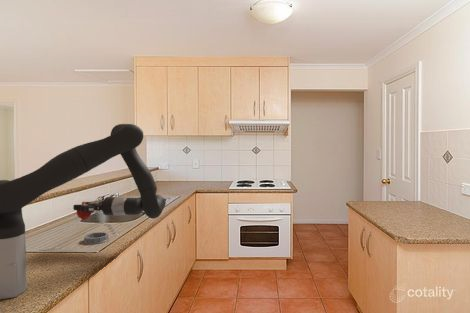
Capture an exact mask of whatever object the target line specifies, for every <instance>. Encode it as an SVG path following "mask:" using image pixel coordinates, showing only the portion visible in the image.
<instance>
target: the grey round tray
mask: <svg viewBox="0 0 470 313" xmlns="http://www.w3.org/2000/svg"><path fill="white" fill-rule="evenodd" d="M109 240H110V237H109V232H106V231H97V232H96V231H95V232H91V233H87V234H86V235H84V236H83V243H84V244H86V245H98V244H105V243H106V241H107V242H108V241H109Z"/></svg>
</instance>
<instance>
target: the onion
mask: <svg viewBox="0 0 470 313" xmlns="http://www.w3.org/2000/svg"><path fill="white" fill-rule="evenodd" d="M85 202H86V201H82V202H81V204H80V205H83V204H86V203H85ZM76 215H77V217H78V218H79V219H81V220H82V221H86V220H87V219H88V218H90V217H91V215H92V212H81V210H76Z"/></svg>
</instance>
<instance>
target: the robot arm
mask: <svg viewBox="0 0 470 313" xmlns="http://www.w3.org/2000/svg"><path fill="white" fill-rule="evenodd" d="M143 140H144V131H143V130H142V128H141V127H140V126H138V125H136V124H133V123H120V124H119V123H118V124H116V125H114V126H113V128H112V129H111V131H110V135H109V136H106V137H104V138H102V139H101V138H100V139H98V140H94V141H89V142H86V143H83V144H80V145H76V146H74V147H71V148H70V149H67V150H65V151H64V152H61V153H59V154H57V155H56V156H53V157H52V158H51V159H50V160H48V161H47V162H46V163H44V164H43V165H41V167H39V168H37V169H36V170H33V171H32V172H29V173H28V174H25V175H23V176H21V177H18V178H14V179H12V180H7V179H1V180H0V300H5V299H11V298H16V297H18V296H19V295H20V294H23V293H24V292H26V291H27V289H28V284H27V283H28V282H27V281H28V278H27V275H28V274H27V246H26V243H27V242H26V224H25V221H24V218H23V209H22V208H24V207H26V206H27V205H29V204H30V203H31V202H33V201H35V200H37V199H38V198H40V197H41V196H43V195H44V194H46V193H48V192H49V191H51V190H54V189H55V188H58V187H60V186H63V185H64V184H67V183H68V182H70V181H71V182H72V180H74V179H77V178H79V177H80V176H82V175H84V174H86V173H89V172H90V171H91V170H93V169H95V168H97V167H99V166H100V165H102V164H104V163H105V162H107V161H108V160H110V159H113V158H114V157H117V156H119V155H120V156H121V158H122V160H123V161H124V163H125V165H126V166H127V168H128V170H129V172H130V173H131V174H130V175H131V176H132V178H133V181H134V183H135V185H136V187H137V189H138V192H139V194H140V197H125V196H107V197H105V198H103V199H102V200H94V201H93V200H92V201H84V202H85V203H86V204H83V205H81V204H74V205H73V206H72V207H73V211H77V210H81V212H92V213H94V212H96V213H97V212H98V213H100V212H102V213H103V215H104V216H135V215H140V214H141V213H143V212H144V214H145V215H146V216H147V217H148V218H149V219H156V218H159V217H160V216H161V215H162V212H163V211H164V209H165V206H166V204H167V202H166V199H165V197H163V196H162V195H160V194H157V191H158V187H157V184H156V182H155V179H154V176H153V174H152V172H151V171H150V169H149V168H148V166H147V165H146V164H145V162H144V161H143V159H142V158H141V156H140V155H139V153H138V151H137V147H139V146H140V145H141V144H142V142H143ZM92 213H91V214H92Z"/></svg>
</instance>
